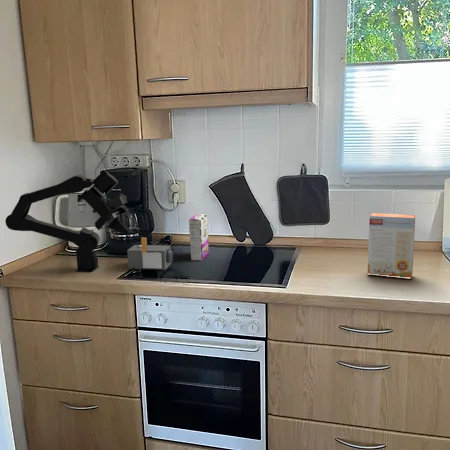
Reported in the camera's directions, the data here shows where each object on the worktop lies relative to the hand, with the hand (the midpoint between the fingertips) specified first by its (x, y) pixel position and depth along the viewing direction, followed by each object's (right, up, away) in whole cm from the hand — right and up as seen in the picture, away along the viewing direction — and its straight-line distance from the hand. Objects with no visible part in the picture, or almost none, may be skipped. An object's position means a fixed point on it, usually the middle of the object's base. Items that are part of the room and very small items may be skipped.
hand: (128, 233), depth 168 cm
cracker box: (+90, -14, -10) cm, 92 cm away
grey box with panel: (+7, -12, +7) cm, 15 cm away
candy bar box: (+25, -10, +18) cm, 32 cm away
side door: (+8, -13, +2) cm, 16 cm away
